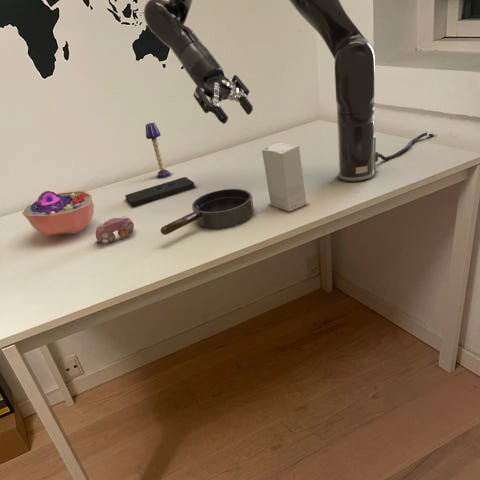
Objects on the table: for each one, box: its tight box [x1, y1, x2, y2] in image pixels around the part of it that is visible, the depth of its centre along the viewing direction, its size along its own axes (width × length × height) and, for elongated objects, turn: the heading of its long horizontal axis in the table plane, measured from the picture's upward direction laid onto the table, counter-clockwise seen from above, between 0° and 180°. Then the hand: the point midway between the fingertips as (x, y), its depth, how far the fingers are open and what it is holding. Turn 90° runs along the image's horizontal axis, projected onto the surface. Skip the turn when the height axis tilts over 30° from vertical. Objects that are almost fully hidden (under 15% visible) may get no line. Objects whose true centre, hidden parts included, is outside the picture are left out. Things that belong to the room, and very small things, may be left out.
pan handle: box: [160, 211, 202, 236], centre depth 114 cm, size 12×2×2 cm, turn 133°
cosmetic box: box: [261, 142, 307, 212], centre depth 119 cm, size 8×6×15 cm
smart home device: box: [124, 176, 196, 208], centre depth 145 cm, size 8×2×20 cm
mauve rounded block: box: [95, 215, 135, 243], centre depth 120 cm, size 10×5×7 cm, turn 118°
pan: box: [191, 188, 255, 230], centre depth 122 cm, size 15×15×4 cm
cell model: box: [21, 190, 95, 236], centre depth 128 cm, size 17×20×11 cm
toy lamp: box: [145, 122, 171, 179], centre depth 155 cm, size 5×5×17 cm
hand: (238, 116), depth 120 cm, fingers open, 8 cm apart
